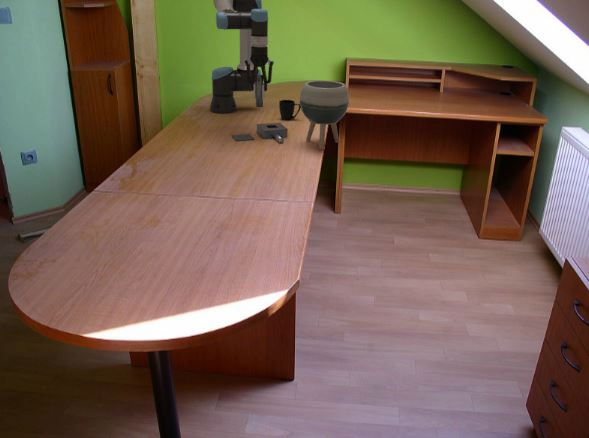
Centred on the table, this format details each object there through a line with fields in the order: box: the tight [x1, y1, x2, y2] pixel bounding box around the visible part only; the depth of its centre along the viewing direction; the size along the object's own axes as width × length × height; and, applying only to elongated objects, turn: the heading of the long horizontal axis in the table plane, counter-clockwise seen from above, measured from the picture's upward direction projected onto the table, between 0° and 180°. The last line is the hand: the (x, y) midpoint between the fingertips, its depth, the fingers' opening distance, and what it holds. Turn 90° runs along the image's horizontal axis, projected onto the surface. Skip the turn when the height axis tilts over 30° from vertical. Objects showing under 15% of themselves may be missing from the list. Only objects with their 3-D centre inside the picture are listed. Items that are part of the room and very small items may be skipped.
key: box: [255, 74, 264, 108], centre depth 253 cm, size 3×6×14 cm, turn 171°
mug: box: [278, 99, 301, 121], centre depth 290 cm, size 8×12×10 cm
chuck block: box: [256, 122, 288, 144], centre depth 260 cm, size 21×12×4 cm, turn 20°
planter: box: [299, 79, 350, 151], centre depth 247 cm, size 22×22×28 cm
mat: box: [231, 133, 256, 142], centre depth 258 cm, size 9×9×1 cm
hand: (259, 97), depth 254 cm, fingers closed on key, 3 cm apart
